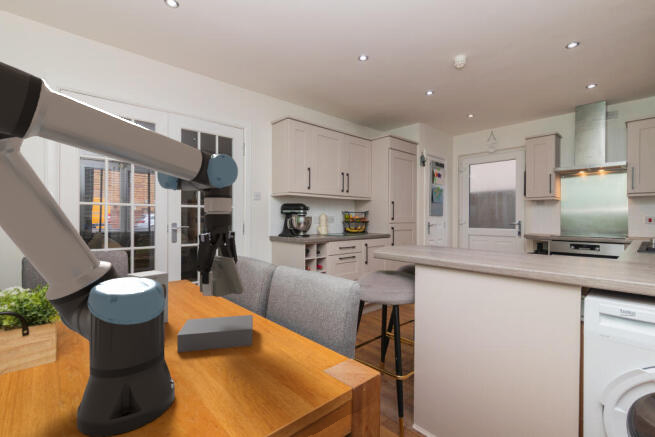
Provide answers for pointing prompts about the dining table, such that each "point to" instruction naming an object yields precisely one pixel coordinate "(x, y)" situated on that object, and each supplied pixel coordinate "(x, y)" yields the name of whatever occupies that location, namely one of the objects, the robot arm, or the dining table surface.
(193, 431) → the dining table surface
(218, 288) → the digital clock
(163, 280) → the supplement box
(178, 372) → the dining table surface
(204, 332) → the charcoal block
